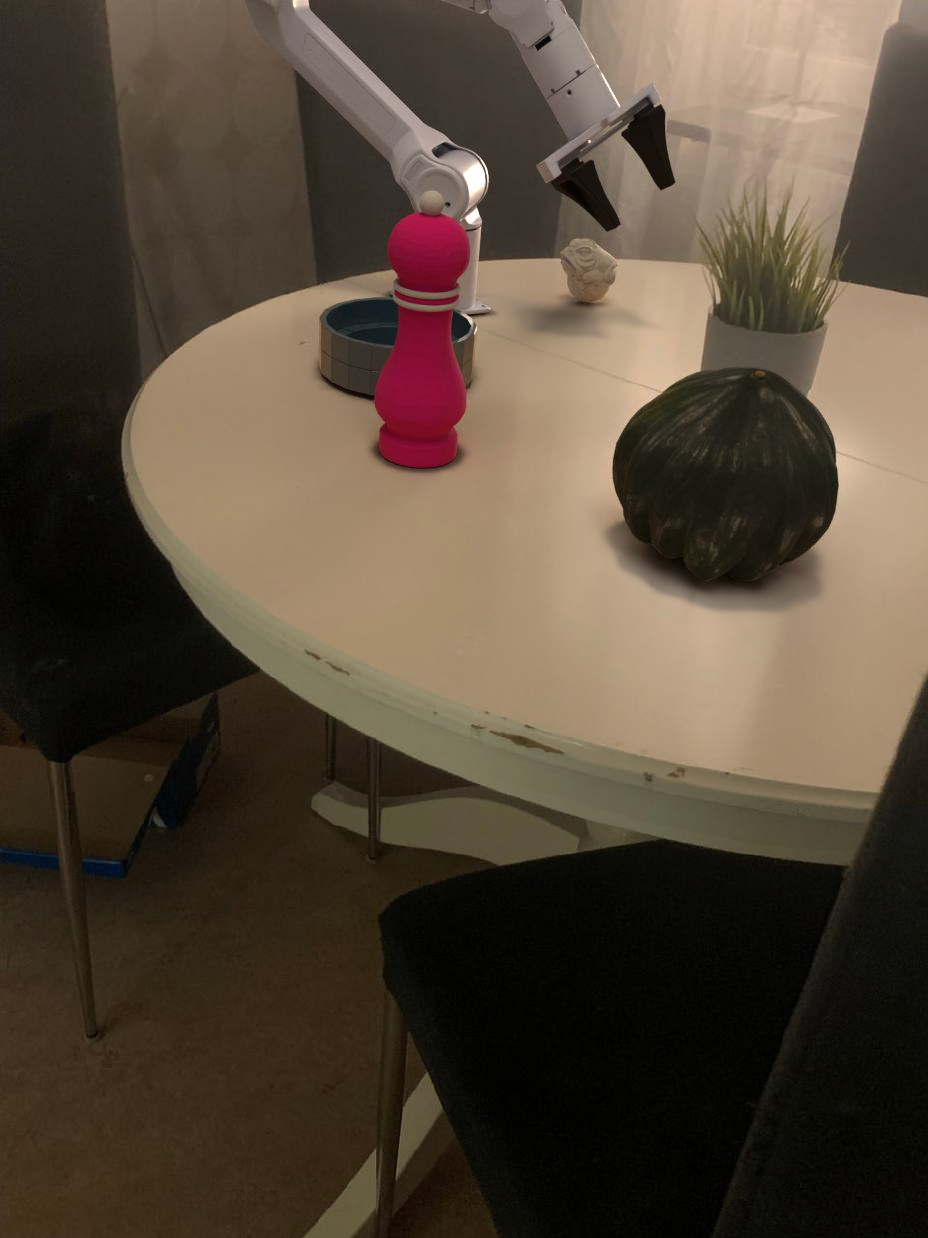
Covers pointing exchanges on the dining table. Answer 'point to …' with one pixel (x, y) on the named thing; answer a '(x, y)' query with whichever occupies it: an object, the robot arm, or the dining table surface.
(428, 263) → the pepper mill
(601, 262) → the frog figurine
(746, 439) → the squash
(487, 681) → the dining table surface
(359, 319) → the bowl
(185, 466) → the dining table surface
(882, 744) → the dining table surface
